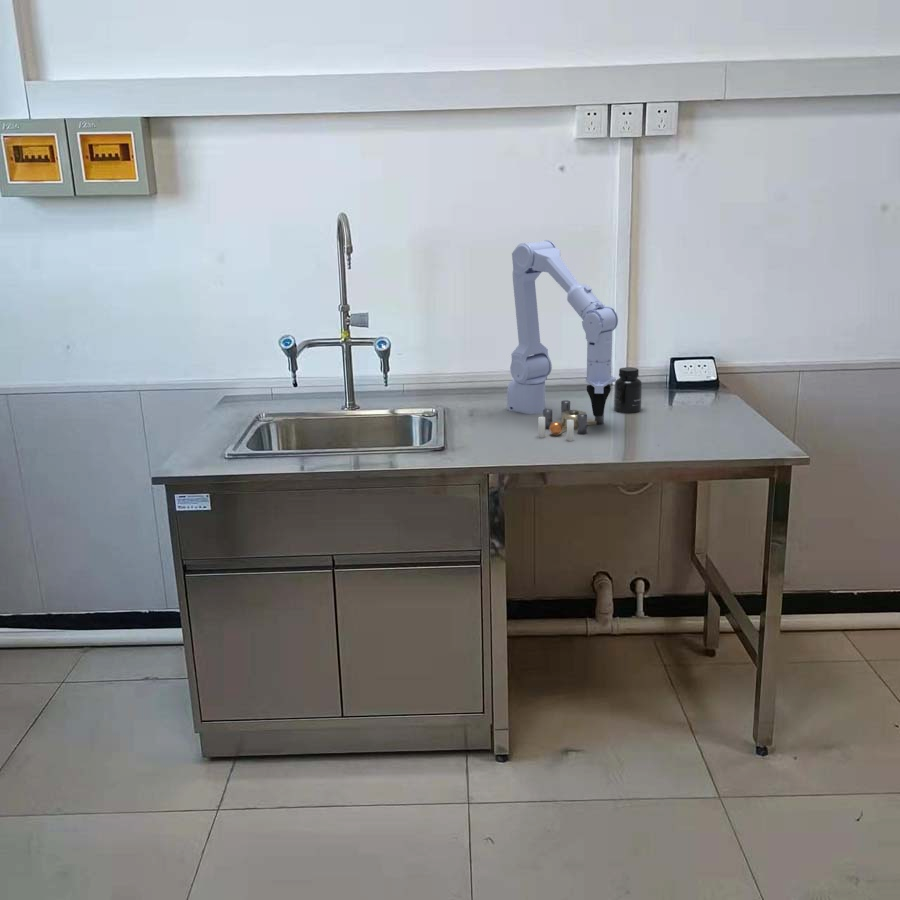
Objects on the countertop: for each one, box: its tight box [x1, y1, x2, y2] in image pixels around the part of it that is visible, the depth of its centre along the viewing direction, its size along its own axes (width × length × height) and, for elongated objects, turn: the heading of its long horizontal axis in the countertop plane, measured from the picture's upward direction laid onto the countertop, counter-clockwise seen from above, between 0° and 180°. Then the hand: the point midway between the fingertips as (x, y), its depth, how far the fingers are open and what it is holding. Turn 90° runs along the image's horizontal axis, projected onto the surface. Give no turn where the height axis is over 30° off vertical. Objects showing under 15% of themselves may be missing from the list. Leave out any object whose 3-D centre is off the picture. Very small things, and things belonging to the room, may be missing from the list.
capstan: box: [542, 399, 605, 436], centre depth 214 cm, size 16×16×4 cm
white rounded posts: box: [537, 416, 575, 442], centre depth 206 cm, size 9×6×5 cm
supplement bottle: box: [613, 367, 643, 415], centre depth 225 cm, size 7×7×12 cm
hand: (598, 415), depth 212 cm, fingers closed
